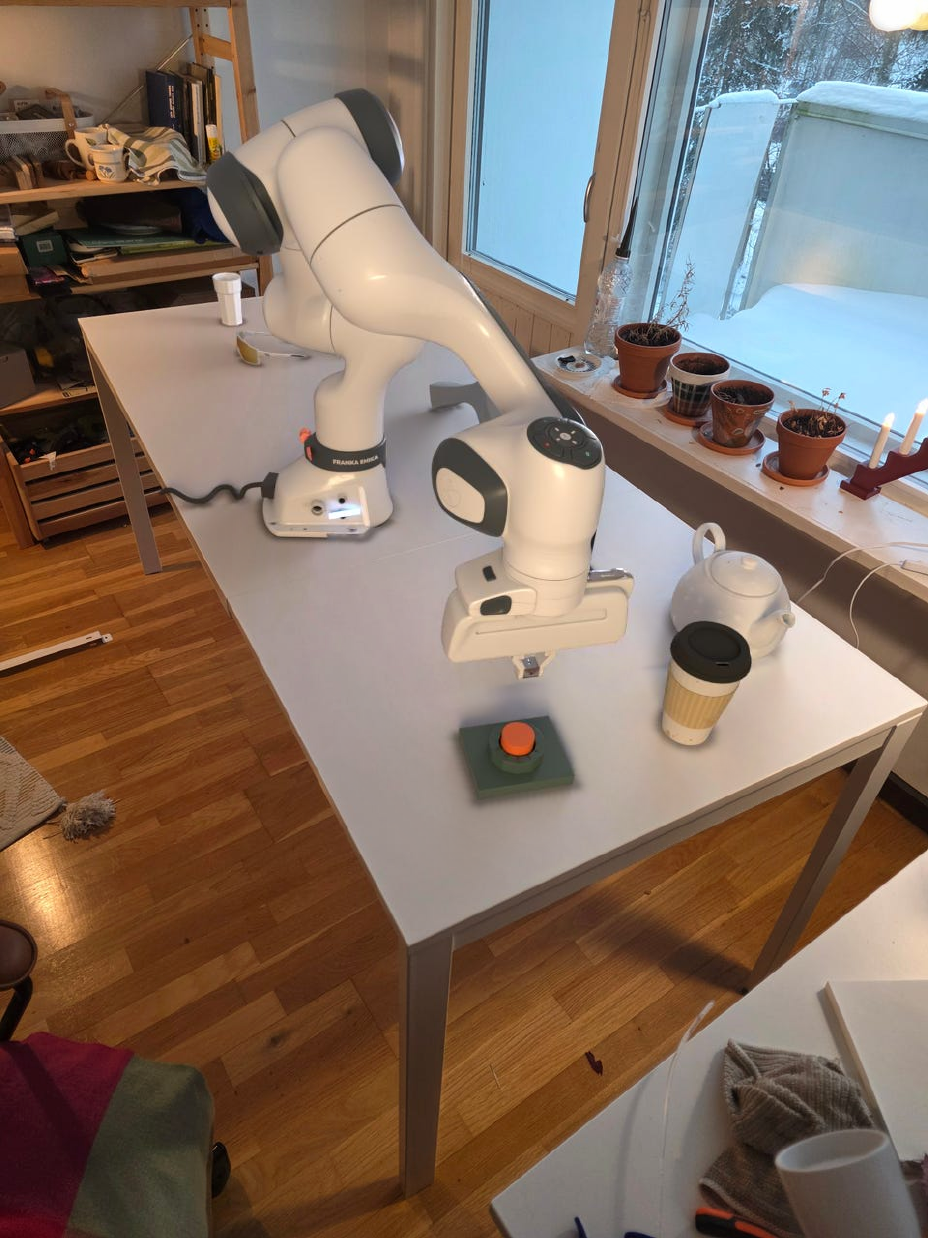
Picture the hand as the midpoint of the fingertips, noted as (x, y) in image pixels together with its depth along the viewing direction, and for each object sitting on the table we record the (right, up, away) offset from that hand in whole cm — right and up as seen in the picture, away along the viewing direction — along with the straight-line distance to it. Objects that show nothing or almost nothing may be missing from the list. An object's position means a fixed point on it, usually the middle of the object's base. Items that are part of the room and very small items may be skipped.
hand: (528, 674), depth 91 cm
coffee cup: (+22, -8, +16) cm, 28 cm away
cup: (-66, +81, +113) cm, 154 cm away
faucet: (-6, +43, +74) cm, 86 cm away
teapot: (+32, +5, +32) cm, 46 cm away
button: (-1, -9, +8) cm, 12 cm away
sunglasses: (-53, +69, +99) cm, 132 cm away
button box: (-1, -11, +10) cm, 15 cm away
